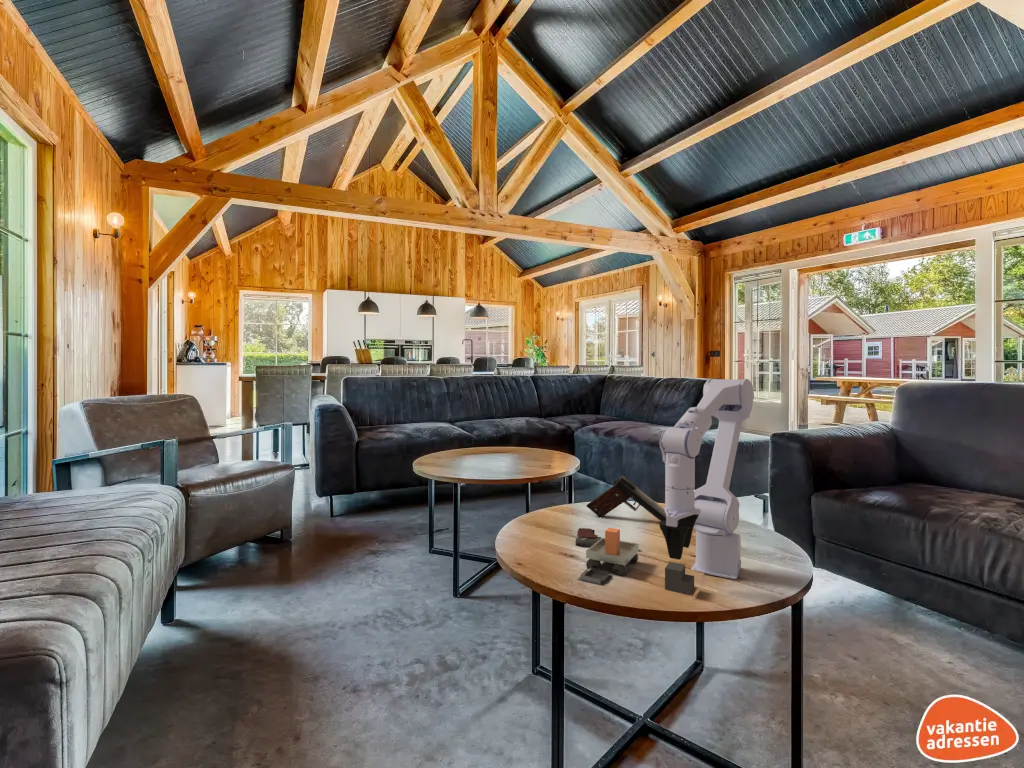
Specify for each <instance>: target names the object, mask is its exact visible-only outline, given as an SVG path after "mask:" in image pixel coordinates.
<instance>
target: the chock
mask: <svg viewBox="0 0 1024 768" xmlns="http://www.w3.org/2000/svg"><path fill="white" fill-rule="evenodd" d="M694 589H695V575H692V574H686V564H685V563H678V562H673V561H669V562H668V564H667V565H666V566H665V567H664V590H665V591H670V592H675V593H678V594H679V593H680V594H685V595H689V596H690V595H691V594H692V592H693V591H694Z"/></svg>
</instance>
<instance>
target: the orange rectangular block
mask: <svg viewBox="0 0 1024 768" xmlns="http://www.w3.org/2000/svg"><path fill="white" fill-rule="evenodd" d="M604 531H605V532H604V538H605V553H611V554H617V553H618V552H619V551H620V541H621V529H619V528H615V527H608V528H607V529H606V530H604Z"/></svg>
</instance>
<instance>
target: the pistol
mask: <svg viewBox="0 0 1024 768" xmlns="http://www.w3.org/2000/svg"><path fill="white" fill-rule="evenodd" d="M601 538H602V537H601V536H597V535H596V533H595V529H592V528H586V527H579V528H578V529H577V537H576V538H575V546H576V547H580V548H590V547H591V546H592V545H594V544H595V543H596V542H597V541H598V540H600V539H601Z"/></svg>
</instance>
